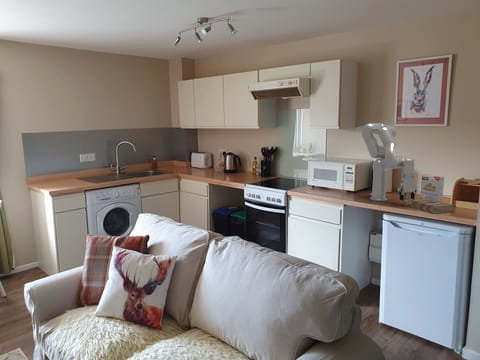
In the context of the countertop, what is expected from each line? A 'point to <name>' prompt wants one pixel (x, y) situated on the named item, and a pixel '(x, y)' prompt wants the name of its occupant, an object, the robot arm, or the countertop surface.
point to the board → (432, 206)
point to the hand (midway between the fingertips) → (407, 199)
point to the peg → (406, 199)
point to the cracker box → (432, 187)
